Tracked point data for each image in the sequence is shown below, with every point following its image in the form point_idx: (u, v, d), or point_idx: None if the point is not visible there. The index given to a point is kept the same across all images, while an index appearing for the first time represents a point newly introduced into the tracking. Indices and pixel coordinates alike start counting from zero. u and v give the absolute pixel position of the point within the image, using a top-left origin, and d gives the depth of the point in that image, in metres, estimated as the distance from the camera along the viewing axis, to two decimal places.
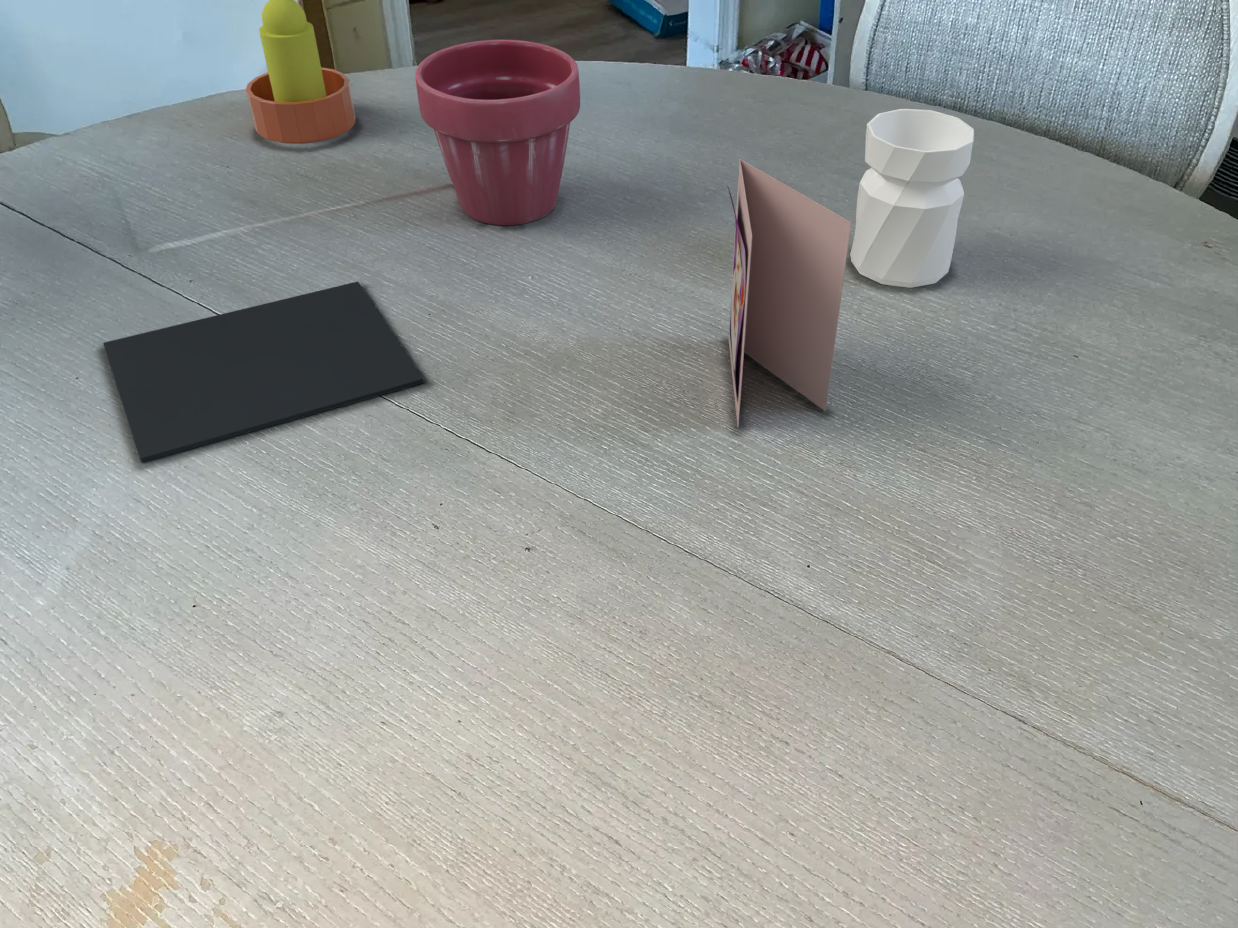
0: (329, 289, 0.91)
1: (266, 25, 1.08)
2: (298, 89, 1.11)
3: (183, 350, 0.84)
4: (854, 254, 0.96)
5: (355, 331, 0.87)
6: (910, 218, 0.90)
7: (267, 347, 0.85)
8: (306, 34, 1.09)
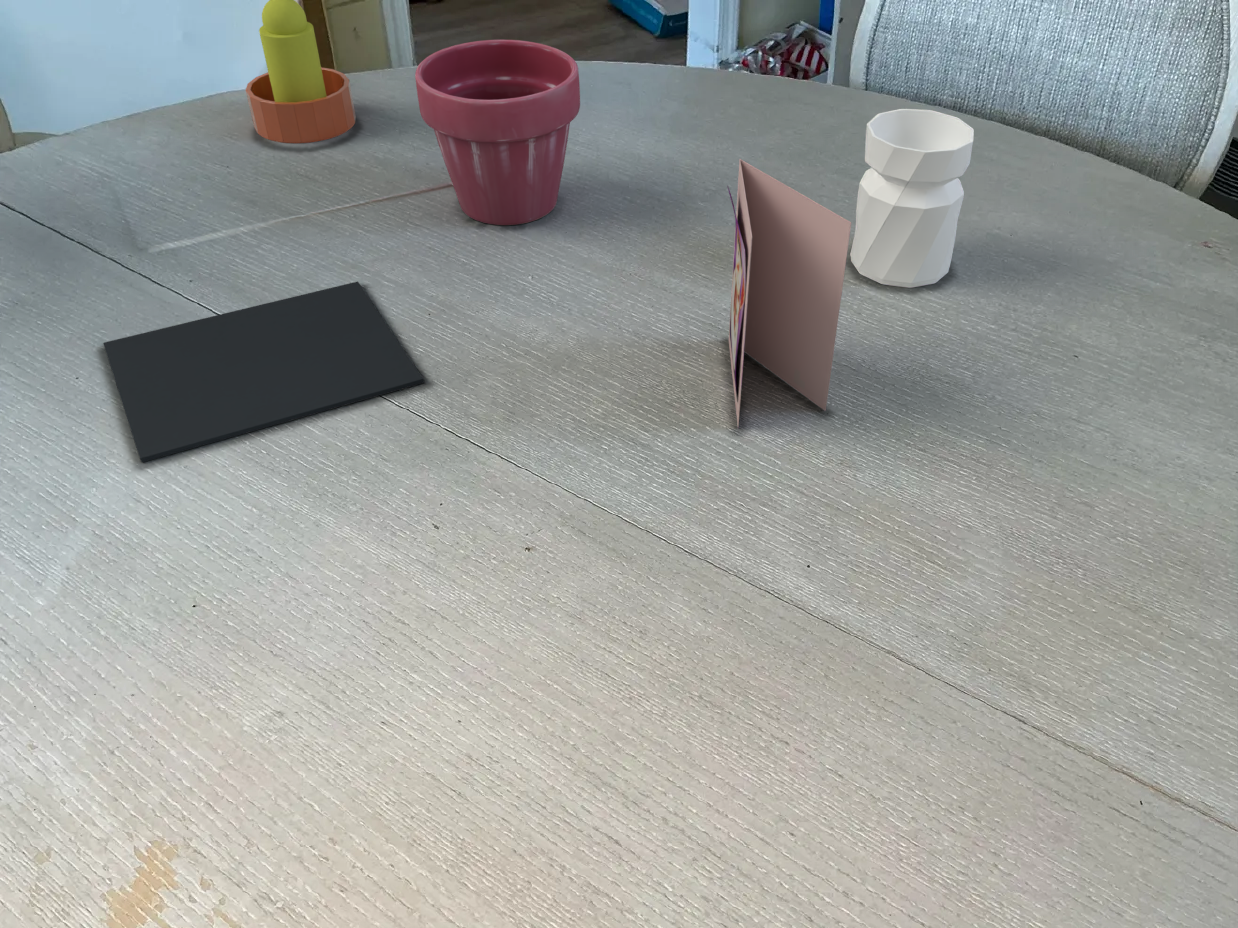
0: (329, 289, 0.91)
1: (266, 25, 1.08)
2: (298, 89, 1.11)
3: (183, 350, 0.84)
4: (854, 254, 0.96)
5: (355, 331, 0.87)
6: (910, 218, 0.90)
7: (267, 347, 0.85)
8: (306, 34, 1.09)
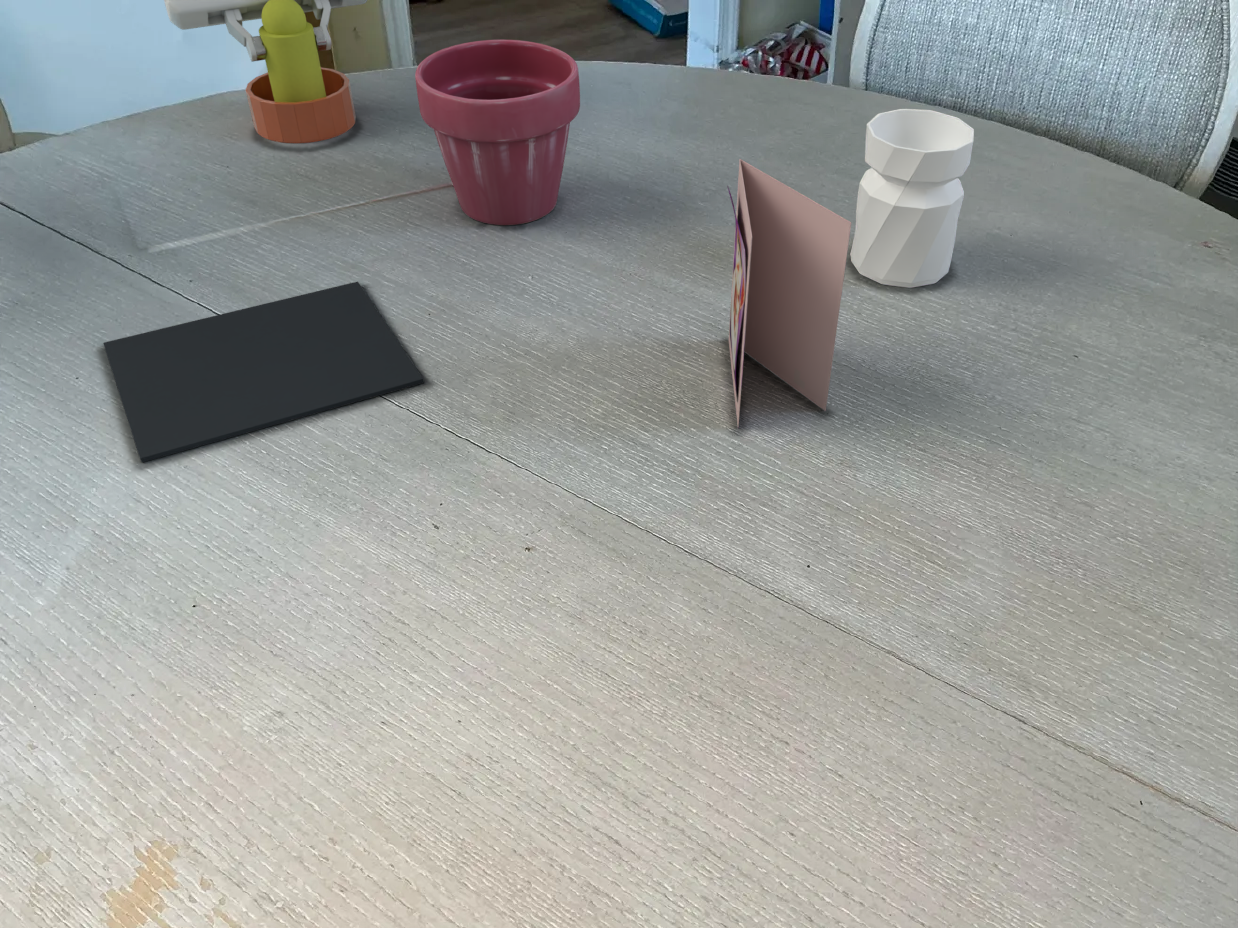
0: (329, 289, 0.91)
1: (265, 25, 1.08)
2: (298, 90, 1.11)
3: (183, 350, 0.84)
4: (854, 254, 0.96)
5: (355, 331, 0.87)
6: (910, 218, 0.90)
7: (267, 347, 0.85)
8: (305, 34, 1.09)
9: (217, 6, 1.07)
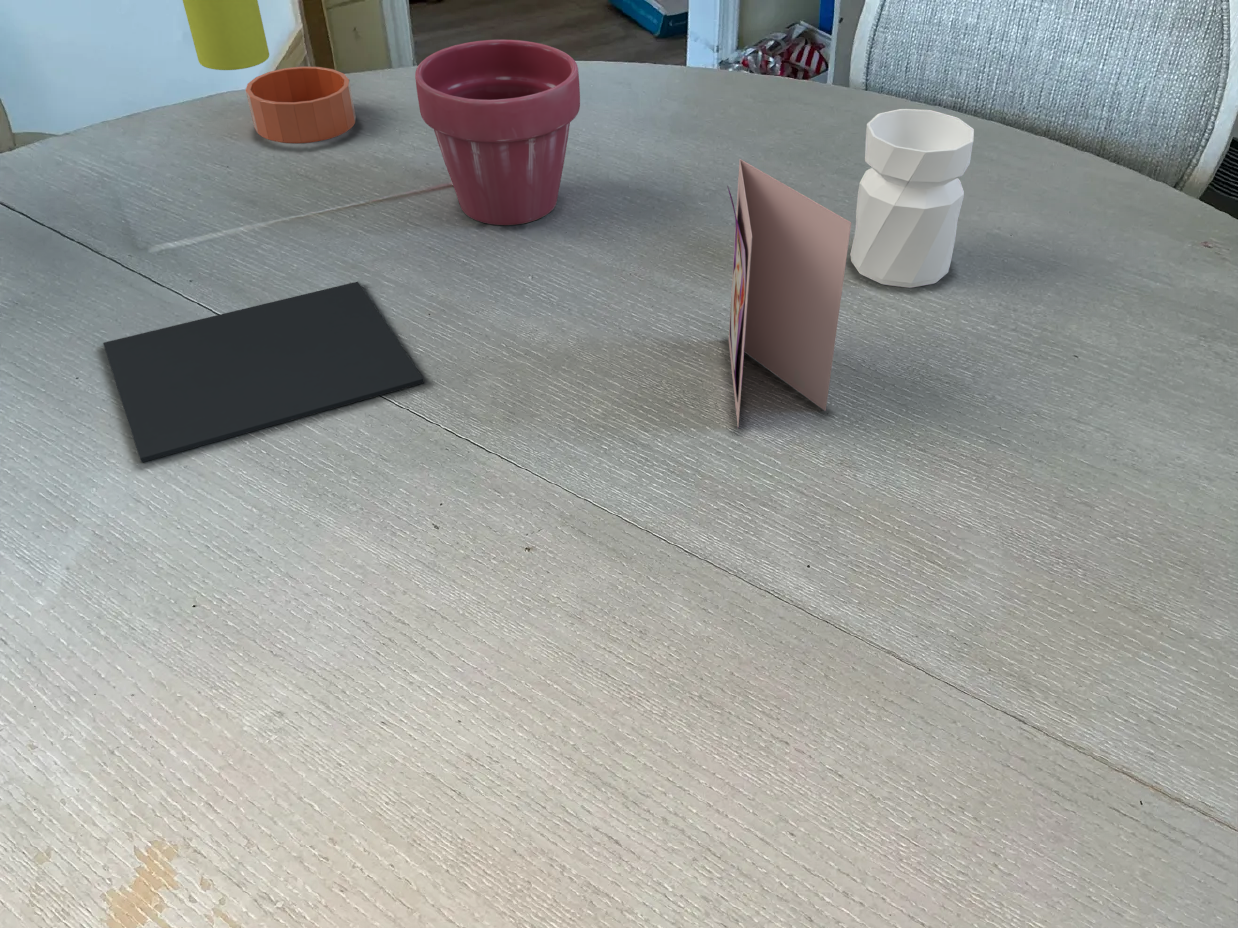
0: (329, 289, 0.91)
1: None
2: (220, 8, 0.80)
3: (183, 350, 0.84)
4: (854, 254, 0.96)
5: (355, 331, 0.87)
6: (910, 218, 0.90)
7: (267, 347, 0.85)
8: None
9: None
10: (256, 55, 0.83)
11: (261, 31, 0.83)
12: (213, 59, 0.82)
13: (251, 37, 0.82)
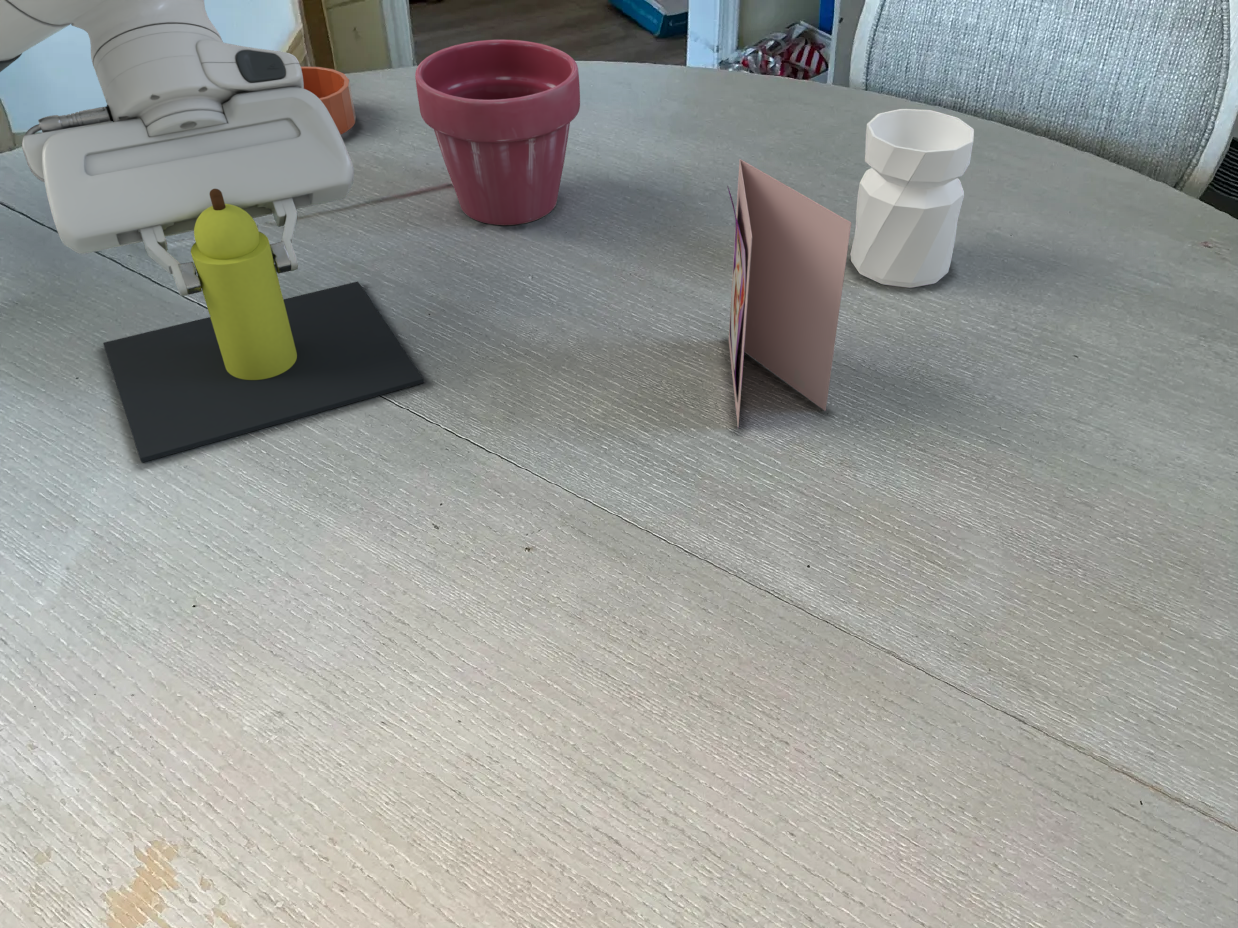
0: (329, 289, 0.91)
1: (200, 246, 0.75)
2: (249, 328, 0.79)
3: (183, 350, 0.84)
4: (854, 254, 0.96)
5: (355, 331, 0.87)
6: (910, 218, 0.90)
7: None
8: (257, 257, 0.76)
9: (129, 225, 0.74)
10: (284, 363, 0.82)
11: (289, 338, 0.82)
12: (240, 370, 0.81)
13: (279, 348, 0.81)
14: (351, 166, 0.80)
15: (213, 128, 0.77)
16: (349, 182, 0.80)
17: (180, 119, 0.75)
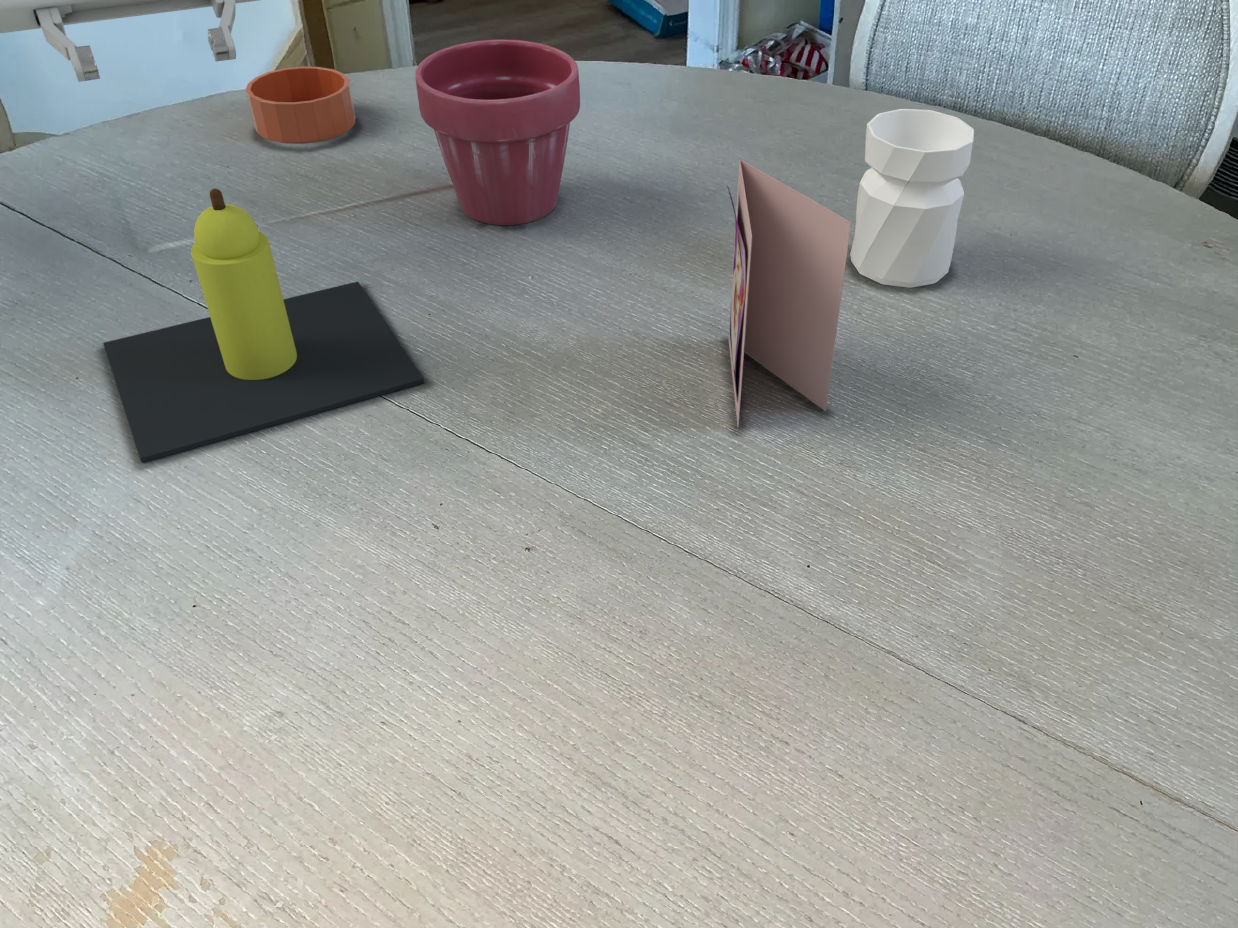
0: (329, 289, 0.91)
1: (200, 246, 0.75)
2: (249, 328, 0.79)
3: (183, 350, 0.84)
4: (854, 254, 0.96)
5: (355, 331, 0.87)
6: (910, 218, 0.90)
7: None
8: (257, 257, 0.76)
9: (46, 0, 0.76)
10: (284, 363, 0.82)
11: (289, 338, 0.82)
12: (240, 370, 0.81)
13: (279, 348, 0.81)
14: None
15: None
16: None
17: None
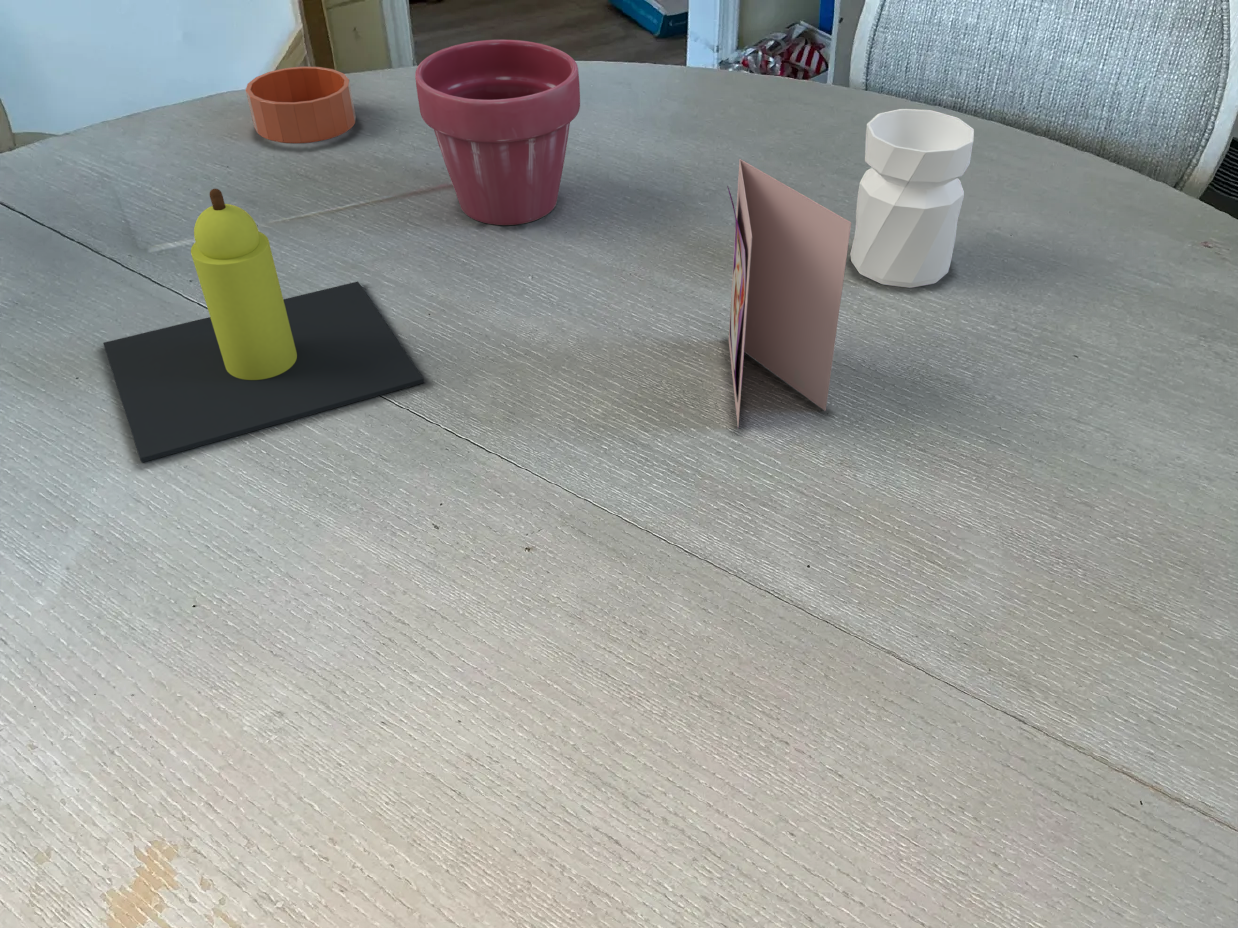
0: (329, 289, 0.91)
1: (200, 246, 0.75)
2: (249, 328, 0.79)
3: (183, 350, 0.84)
4: (854, 254, 0.96)
5: (355, 331, 0.87)
6: (910, 218, 0.90)
7: None
8: (257, 257, 0.76)
9: None
10: (284, 363, 0.82)
11: (289, 338, 0.82)
12: (240, 370, 0.81)
13: (279, 348, 0.81)
14: None
15: None
16: None
17: None
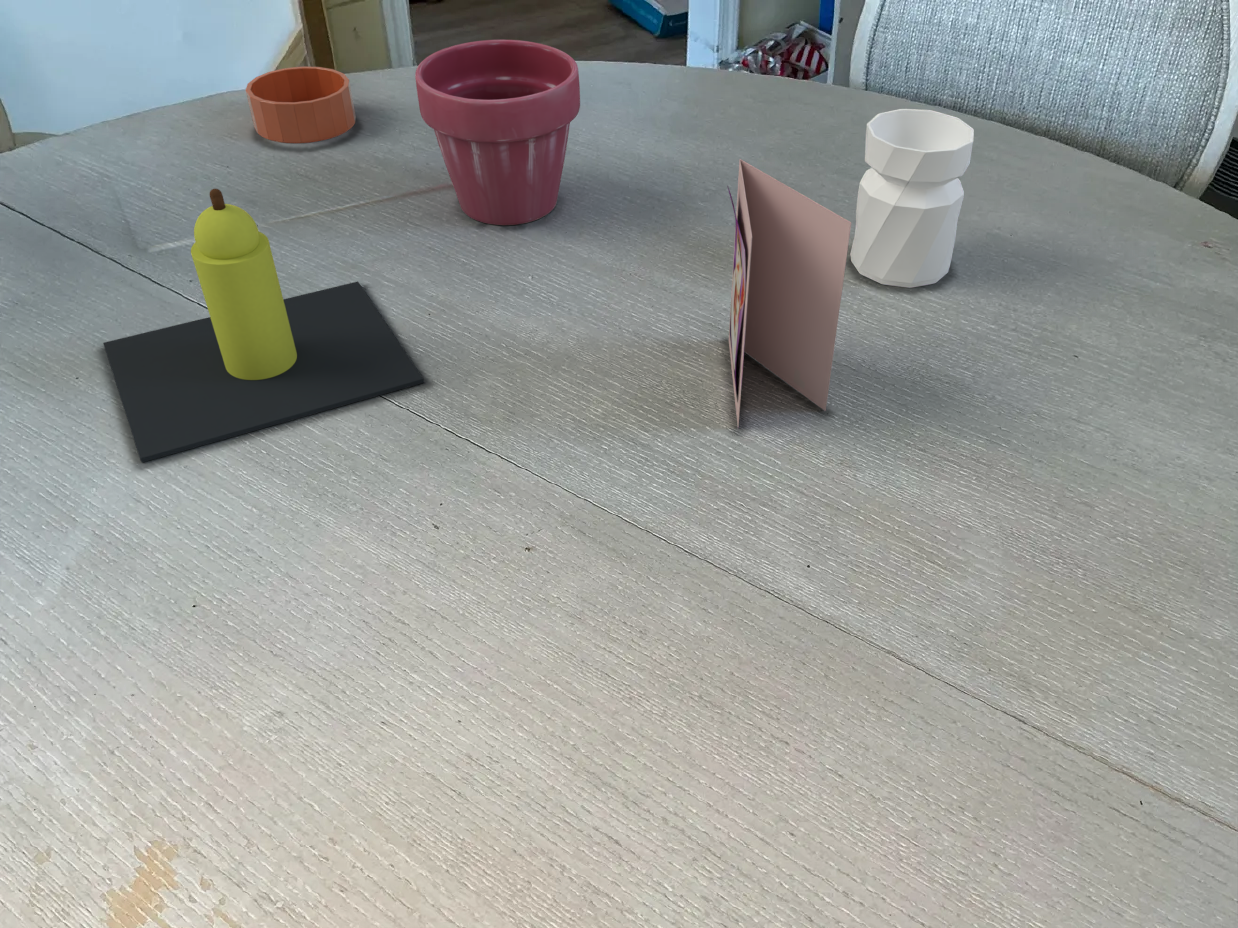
0: (329, 289, 0.91)
1: (200, 246, 0.75)
2: (249, 328, 0.79)
3: (183, 350, 0.84)
4: (854, 254, 0.96)
5: (355, 331, 0.87)
6: (910, 218, 0.90)
7: None
8: (257, 257, 0.76)
9: None
10: (284, 363, 0.82)
11: (289, 338, 0.82)
12: (240, 370, 0.81)
13: (279, 348, 0.81)
14: None
15: None
16: None
17: None
